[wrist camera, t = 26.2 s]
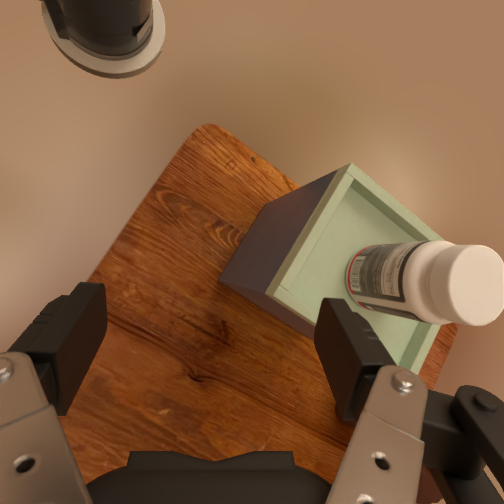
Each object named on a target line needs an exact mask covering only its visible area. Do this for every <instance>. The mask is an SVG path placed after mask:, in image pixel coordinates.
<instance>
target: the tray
mask: <svg viewBox="0 0 504 504" xmlns="http://www.w3.org/2000/svg"><path fill="white" fill-rule="evenodd" d="M419 241H445V240H443V239H442V238H441V237H440V236H439V235H437V234H436V233H435V232H434V231H433V230H432V229H430V228H429V227H428V226H427V225H426V224H424V223H423V222H422V221H421V220H420V219H418V218H417V217H416V216H415V215H413V214H412V213H411V212H410V211H409V210H408V209H406V208H405V207H404V206H403V205H402V204H400V203H399V202H398V201H397V200H396V199H394V198H393V197H392V196H391V195H390V194H389V193H387V192H386V191H385V190H384V189H383V188H381V187H380V186H379V185H378V184H377V183H375V182H374V181H373V180H372V179H371V178H369V177H368V176H367V175H366V174H364V173H363V172H362V171H361V170H360V169H358V167H356V166H355V165H354V164H353V163H349V164H347V165H345V166H343V167H341V168H339V169H338V171H337V173H336V174H335V176H334V178H333V179H332V181H331V183H330V184H329V186H328V188H327V189H326V191H325V193H324V194H323V196H322V198H321V200H320V201H319V203H318V205H317V206H316V208H315V210H314V211H313V213H312V215H311V216H310V218H309V220H308V221H307V223H306V225H305V226H304V228H303V230H302V231H301V233H300V235H299V236H298V238H297V240H296V241H295V243H294V245H293V247H292V248H291V250H290V252H289V253H288V255H287V257H286V258H285V260H284V262H283V263H282V265H281V267H280V268H279V270H278V272H277V273H276V275H275V277H274V278H273V280H272V282H271V283H270V285H269V287H268V289H267V290H266V292H265V294H266V295H267V296H269V297H270V298H272V299H273V300H275V301H276V302H278V303H279V304H281V305H283V306H284V307H286V308H287V309H289V310H290V311H292V312H293V313H295V314H296V315H298V316H299V317H301V318H302V319H304V320H305V321H307V322H308V323H310V324H312V325H313V326H316V322H317V318H318V314H319V310H320V306H321V302H322V300H323V298H325V297H326V298H343V299H345V301H346V302H347V304H348V305H349V307H350V309H351V310H352V312H357V313H359V314H360V315H361V316H362V317H364V318H365V319H366V320H367V321H368V322H369V324H370V325H371V327H372V328H373V330H374V332H375V333H376V334H377V336H378V337H379V340H381V342H382V343H383V345H384V346H385V348H386V349H387V351H388V352H389V354H390V355H391V357H392V358H393V360H394V361H395V363H396V364H397V366H401V367H404V368H406V369H408V370H410V371H412V372H413V373H415V374H416V375H418V373H419V371H420V369H421V367H422V365H423V362H424V360H425V358H426V356H427V354H428V352H429V350H430V348H431V345H432V343H433V341H434V339H435V337H436V335H437V333H438V331H439V328H440V326H441V325H437V324H429V323H425V322H421V321H416V320H412V319H407V318H403V317H398V316H394V315H389V314H385V313H380V312H376V311H371V310H368V309H365V308H363V307H361V306H359V305H358V304H357V303H356V302H355V301H354V300H353V299H352V297H351V295H350V293H349V291H348V288H347V284H346V271H347V267H348V264H349V262H350V260H351V258H352V257H353V256H354V255H355V254H356V253H357V252H358V251H359V250H361V249H363V248H365V247H367V246H372V245H382V244H396V243H409V242H419Z"/></svg>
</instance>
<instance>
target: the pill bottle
mask: <svg viewBox="0 0 504 504" xmlns="http://www.w3.org/2000/svg"><path fill="white" fill-rule="evenodd" d="M346 284H347V288H348V291H349V293H350V295H351V297H352V299H353V300H354V301H355V302H356V303H357V304H358V305H359V306H361V307H363V308H365V309H368V310H371V311H376V312H380V313H385V314H389V315H394V316H398V317H403V318H407V319H412V320H416V321H421V322H425V323H429V324H437V325H442V324H448V323H452V322H453V323H459V324H466V325H472V326H483V325H486V324H489V323H491V322H492V321H494V320H495V319H496V318H497V317H498V316H499V315H500V313H501V312H502V310H503V309H504V262H503V261H502V259H501V258H500V256H499V255H498V254H497V253H496V252H495V251H494V250H492V249H490V248H488V247H486V246H483V245H455V244H453V243H450V242H446V241H419V242H409V243H396V244H382V245H372V246H367V247H365V248H363V249H361V250H359V251H358V252H357V253H356V254H355V255H354V256H353V257H352V258H351V260H350V262H349V264H348V267H347V271H346Z"/></svg>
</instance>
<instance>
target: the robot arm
mask: <svg viewBox="0 0 504 504" xmlns="http://www.w3.org/2000/svg"><path fill="white" fill-rule="evenodd" d="M41 1H44V4H45V6H46V9H47V11H48V13H49V16H50V18H51V21H52V23H53V26H54V28H55V31H56V33H57V35H58V37H59V38H61V39H67V40H70V41H71V42H72V43H73V44H74V45H75V46H77V47H78V48H79V49H81V50H82V51H84V52H85V53H87V54H89V55H91V56H94V57H96V58H99V59H103V60H110V61H119V60H125V59H129V58H132V57H134V56H136V55H137V54H139V53H140V52H141V51H143V50H144V49H145V47H146V46H147V45H148V43H149V41H150V39H151V37H152V33H153V0H41ZM106 330H107V305H106V291H105V286H104V284H103V283H88V282H80V283H79V284H78V285H77V286H76V287H75V289H74V290H73V291H72V292H71V294H70V295H69V296H68V295H61V296H60V297H58V298H56V299H55V300H53V301H51V302H50V303H48V304H47V305H46V306H45V308H44V309H43V310H42V311H41V312H40V315H38V316H37V317H36V318H35V319H34V320H33V323H32V324H30V325H29V326H28V327H27V329H26V330H25V331H24V332H23V333H22V334H21V336H20V337H19V338H18V339H17V340H16V341H15V343H14V344H13V345H12V346H11V347H10V348H9V350H8V351H7V352H4V353H0V504H416V498H417V492H418V485H419V479H420V472H421V466H422V465H424V466H427V467H428V468H429V470H430V472H431V474H432V476H433V478H434V480H435V482H436V484H437V486H438V488H439V490H440V492H441V494H442V496H443V498H444V500H445V502H446V504H504V501H503V499H502V497H501V496H500V494H499V493H498V491H497V490H496V488H495V487H494V485H493V484H492V482H491V481H490V479H489V478H488V476H487V475H486V473H485V471H484V470H483V469H484V467H485V466H486V464H487V466H488V467H489V469H490V470H491V472H492V473H493V475H494V476H495V478H496V479H497V481H498V482H499V483H500V485H501V487H502V489H503V492H504V402H503V401H501V400H500V399H499V398H498V397H496V396H495V395H493V394H492V393H490V392H488V391H486V390H484V389H482V388H479V387H475V386H470V385H465V386H461V387H459V388H458V390H457V392H456V394H455V396H450V395H447V394H443V393H439V392H436V391H432V390H429V389H427V387H426V385H425V383H424V382H423V380H422V379H421V378H420V377H419V376H417V375H416V374H415V373H413V372H412V371H410V370H408V369H406V368H404V367H401V366H397V364H396V363H395V361H394V360H393V358H392V357H391V355H390V354H389V352H388V351H387V349H386V348H385V346H384V345H383V343H382V342H381V340H379V337H378V336H377V334H376V333H375V332H374V330H373V328H372V327H371V325H370V324H369V322H368V321H367V320H366V319H365V318H364V317H362V316H361V315H360V314H359V313H357V312H352V310H351V309H350V307H349V305H348V304H347V302H346V301H345V299H343V298H326V297H325V298H323V300H322V302H321V306H320V310H319V314H318V318H317V322H316V326H315V330H314V344H315V348H316V350H317V353H318V356H319V358H320V361H321V364H322V366H323V369H324V372H325V374H326V377H327V380H328V382H329V385H330V387H331V390H332V393H333V395H334V398H335V401H336V403H337V406H338V409H339V411H340V414H341V417H342V419H343V421H356V422H357V425H356V427H355V430H354V432H353V435H352V438H351V440H350V443H349V445H348V448H347V450H346V453H345V455H344V458H343V460H342V463H341V465H340V468H339V470H338V473H337V475H336V478H335V480H334V483H333V485H331V484H330V483H328V482H327V481H326V480H325V479H323V478H322V477H320V476H319V475H317V474H315V473H313V472H311V471H310V470H307V469H305V468H302V467H300V466H296V465H295V463H294V458H293V453H292V451H253V452H249V453H246V454H242V455H238V456H235V457H231V458H227V459H223V460H220V461H207V460H203V459H200V458H196V457H192V456H188V455H184V454H181V453H177V452H173V451H130V454H129V458H128V462H127V466H124V467H120V468H117V469H115V470H112V471H109V472H107V473H105V474H103V475H101V476H99V477H97V478H96V479H94V480H93V481H91V482H89V483H88V484H85V482H84V480H83V477H82V475H81V472H80V470H79V467H78V465H77V462H76V460H75V457H74V455H73V452H72V450H71V447H70V445H69V443H68V440H67V438H66V435H65V433H64V430H63V428H62V425H61V423H60V420H59V418H58V416H66V413H67V411H68V409H69V407H70V405H71V403H72V401H73V399H74V397H75V395H76V393H77V391H78V389H79V387H80V385H81V383H82V381H83V379H84V377H85V375H86V373H87V371H88V369H89V367H90V365H91V363H92V361H93V359H94V357H95V355H96V353H97V351H98V349H99V347H100V345H101V343H102V341H103V339H104V337H105V334H106Z"/></svg>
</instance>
